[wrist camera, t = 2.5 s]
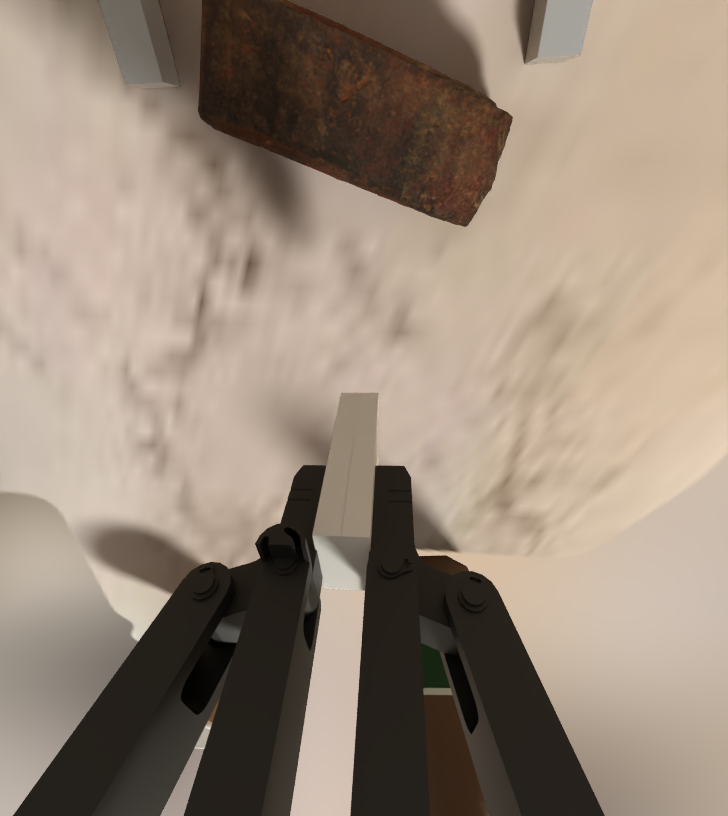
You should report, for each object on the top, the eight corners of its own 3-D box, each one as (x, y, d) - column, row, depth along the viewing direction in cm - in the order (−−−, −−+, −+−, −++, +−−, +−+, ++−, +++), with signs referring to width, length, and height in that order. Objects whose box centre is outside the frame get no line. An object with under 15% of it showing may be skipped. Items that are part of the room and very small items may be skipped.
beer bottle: (408, 546, 34) (438, 1069, 15) (484, 561, 35) (604, 1072, 16) (384, 585, 39) (383, 1025, 20) (452, 598, 40) (514, 1029, 20)
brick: (236, 127, 16) (191, 125, 12) (249, 2, 14) (199, -49, 10) (453, 217, 18) (472, 238, 14) (497, 119, 15) (534, 113, 12)
